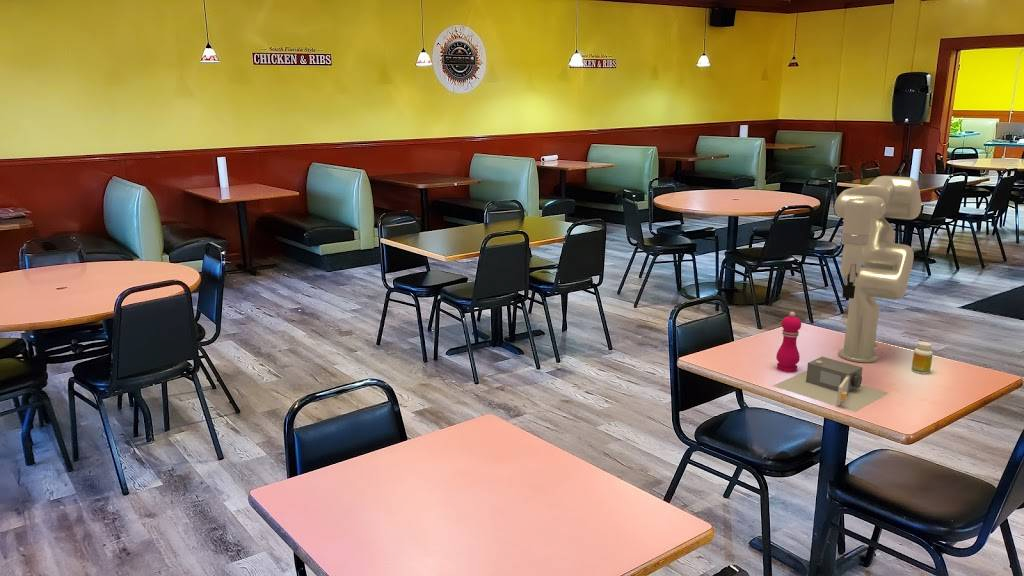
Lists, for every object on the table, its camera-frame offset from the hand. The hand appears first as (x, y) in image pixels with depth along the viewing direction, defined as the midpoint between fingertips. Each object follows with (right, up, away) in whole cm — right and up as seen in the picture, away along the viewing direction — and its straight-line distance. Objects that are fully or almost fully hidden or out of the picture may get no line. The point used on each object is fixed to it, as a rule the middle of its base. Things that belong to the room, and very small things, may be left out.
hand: (848, 297), depth 236 cm
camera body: (-4, -27, +1) cm, 28 cm away
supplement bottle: (+30, -25, +14) cm, 42 cm away
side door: (-6, -30, -11) cm, 33 cm away
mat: (-7, -29, -2) cm, 29 cm away
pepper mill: (-14, -24, +15) cm, 32 cm away
